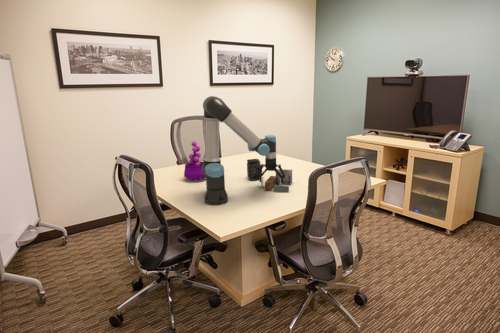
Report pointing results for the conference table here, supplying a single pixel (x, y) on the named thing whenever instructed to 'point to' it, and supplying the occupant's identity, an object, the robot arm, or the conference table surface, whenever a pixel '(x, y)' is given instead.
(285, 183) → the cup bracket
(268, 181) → the rail
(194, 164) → the decorative plant
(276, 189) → the rest block
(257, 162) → the camera
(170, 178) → the conference table surface
